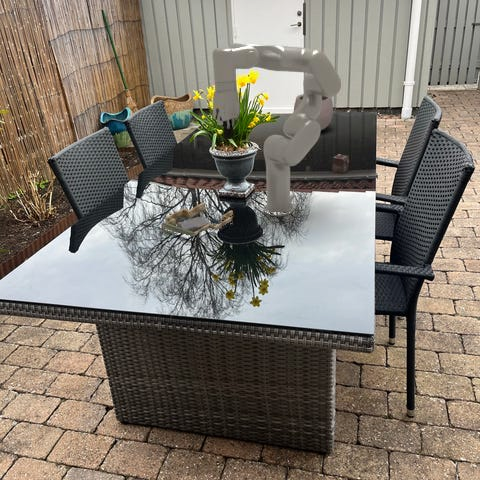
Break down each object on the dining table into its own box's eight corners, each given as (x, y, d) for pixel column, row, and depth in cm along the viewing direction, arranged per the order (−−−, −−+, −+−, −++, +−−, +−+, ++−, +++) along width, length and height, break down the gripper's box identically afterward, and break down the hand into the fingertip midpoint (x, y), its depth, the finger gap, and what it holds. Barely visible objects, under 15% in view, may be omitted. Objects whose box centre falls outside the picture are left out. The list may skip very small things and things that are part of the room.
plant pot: (338, 127, 301) (340, 78, 286) (322, 138, 283) (324, 86, 269) (303, 123, 312) (304, 76, 298) (286, 133, 295) (286, 83, 280)
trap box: (197, 207, 206) (196, 199, 204) (240, 219, 193) (239, 211, 192) (157, 229, 189) (156, 221, 188) (200, 244, 177) (200, 235, 175)
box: (342, 173, 232) (343, 159, 228) (331, 171, 235) (332, 157, 232) (348, 170, 236) (349, 155, 233) (337, 167, 239) (338, 153, 236)
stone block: (175, 233, 190) (185, 238, 181) (173, 221, 188) (183, 226, 180) (202, 226, 195) (213, 231, 187) (200, 215, 194) (211, 219, 185)
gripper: (230, 81, 171) (233, 131, 180) (203, 89, 161) (207, 142, 170) (247, 82, 167) (249, 134, 176) (220, 91, 157) (223, 145, 166)
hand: (228, 138), depth 173 cm, fingers closed
